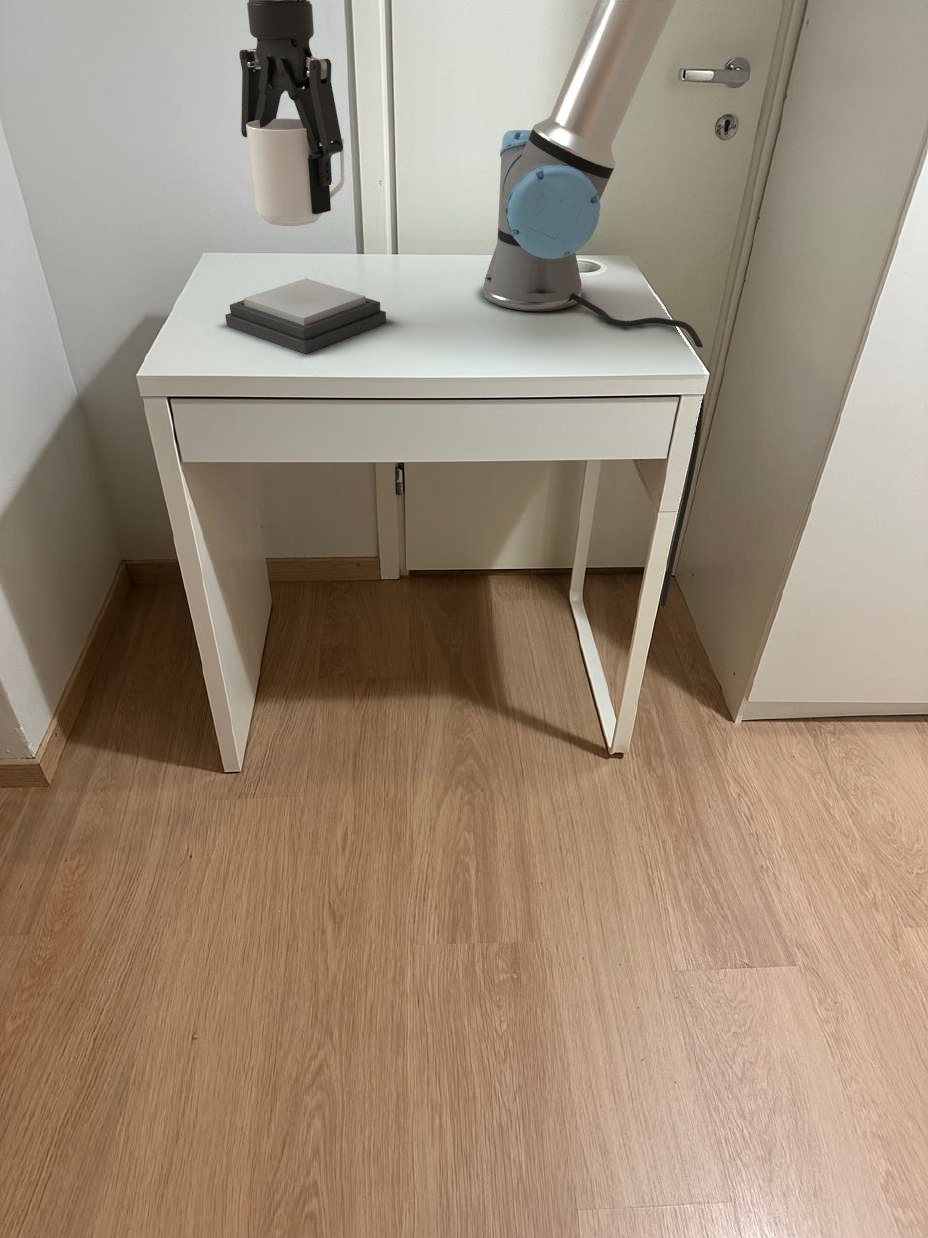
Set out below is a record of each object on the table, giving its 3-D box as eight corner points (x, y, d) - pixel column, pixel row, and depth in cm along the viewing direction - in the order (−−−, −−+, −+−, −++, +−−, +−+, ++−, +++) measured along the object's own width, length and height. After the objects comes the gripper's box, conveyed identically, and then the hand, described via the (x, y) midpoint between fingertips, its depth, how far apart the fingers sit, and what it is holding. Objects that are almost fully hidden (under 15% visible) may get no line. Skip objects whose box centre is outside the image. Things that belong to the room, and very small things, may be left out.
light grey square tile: (366, 305, 125) (365, 295, 124) (304, 327, 118) (303, 317, 117) (306, 287, 131) (306, 277, 130) (244, 307, 123) (243, 297, 122)
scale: (386, 322, 127) (385, 301, 125) (305, 354, 117) (303, 331, 115) (308, 298, 135) (306, 277, 133) (226, 325, 125) (223, 304, 123)
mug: (253, 227, 113) (242, 129, 106) (260, 210, 120) (249, 117, 113) (347, 227, 114) (342, 130, 107) (348, 210, 121) (343, 118, 114)
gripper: (368, 2, 100) (375, 215, 114) (243, -10, 110) (263, 187, 124) (320, 4, 95) (333, 226, 109) (194, -8, 105) (220, 195, 119)
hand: (296, 205), depth 116 cm, fingers closed on mug, 9 cm apart
